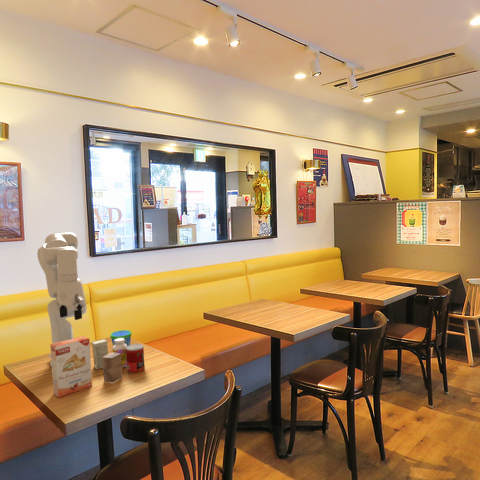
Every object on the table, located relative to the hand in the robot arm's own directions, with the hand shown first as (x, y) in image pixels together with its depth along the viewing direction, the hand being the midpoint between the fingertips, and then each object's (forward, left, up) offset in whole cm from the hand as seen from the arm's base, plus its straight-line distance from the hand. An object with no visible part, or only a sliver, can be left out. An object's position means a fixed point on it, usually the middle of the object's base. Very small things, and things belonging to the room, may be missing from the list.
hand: (71, 317), depth 169 cm
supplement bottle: (+6, +22, -29) cm, 37 cm away
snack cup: (-6, +38, -29) cm, 48 cm away
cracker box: (+4, -5, -29) cm, 30 cm away
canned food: (+16, +20, -29) cm, 39 cm away
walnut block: (+13, +8, -29) cm, 33 cm away
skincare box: (-3, +19, -29) cm, 35 cm away
